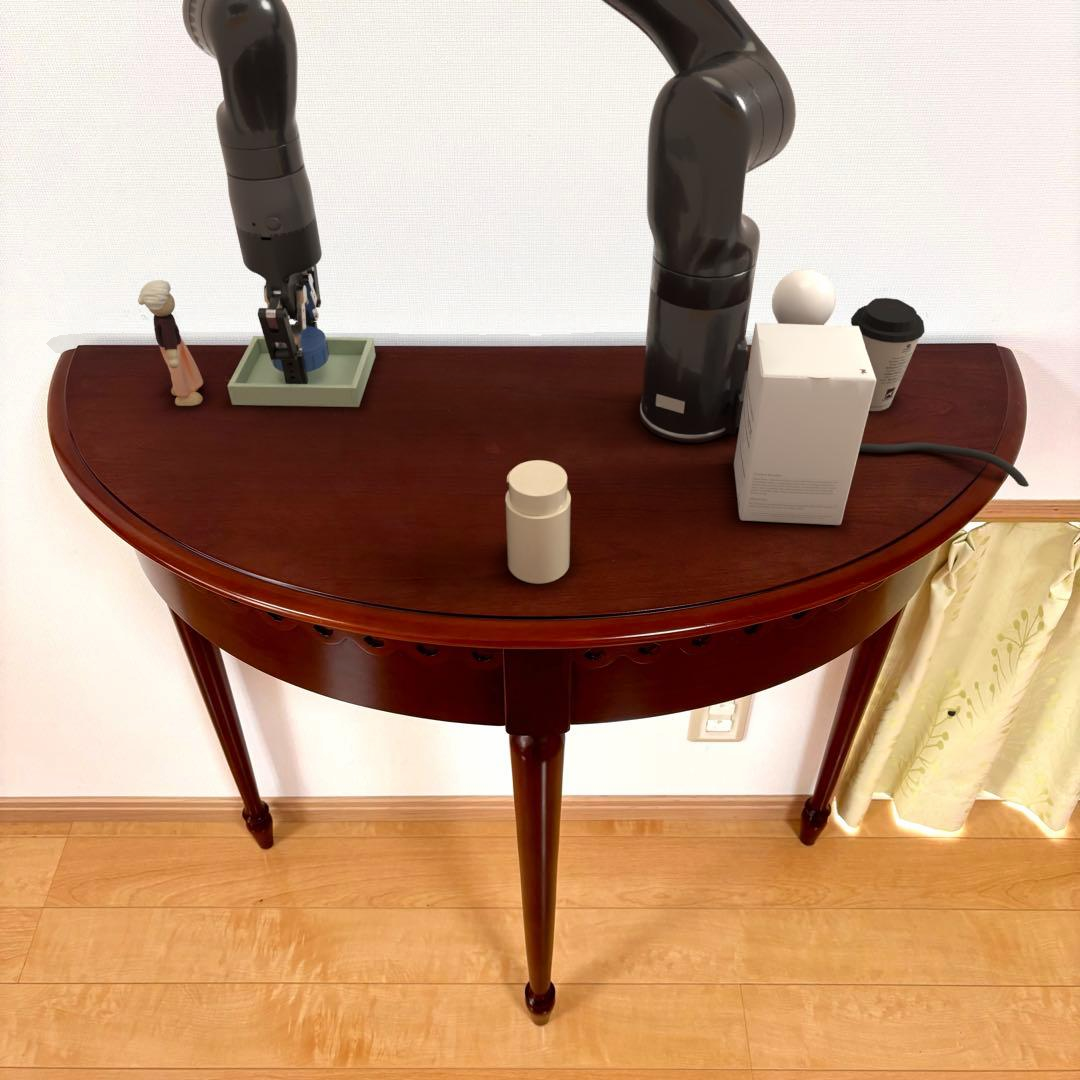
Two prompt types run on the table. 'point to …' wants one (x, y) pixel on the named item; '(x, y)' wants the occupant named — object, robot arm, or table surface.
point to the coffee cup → (888, 343)
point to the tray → (326, 385)
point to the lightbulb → (803, 298)
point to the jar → (538, 521)
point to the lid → (311, 349)
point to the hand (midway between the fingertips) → (304, 368)
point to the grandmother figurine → (172, 343)
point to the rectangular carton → (801, 422)
